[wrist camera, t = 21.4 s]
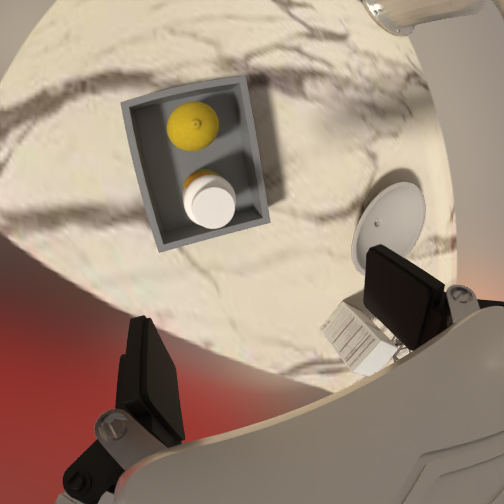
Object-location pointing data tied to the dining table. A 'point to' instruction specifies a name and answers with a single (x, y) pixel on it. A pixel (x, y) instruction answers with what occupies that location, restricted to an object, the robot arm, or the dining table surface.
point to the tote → (195, 159)
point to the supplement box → (358, 340)
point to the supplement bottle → (208, 199)
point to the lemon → (192, 126)
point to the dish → (390, 222)
